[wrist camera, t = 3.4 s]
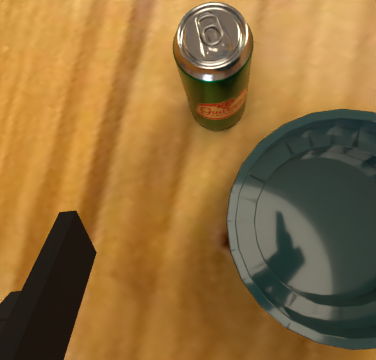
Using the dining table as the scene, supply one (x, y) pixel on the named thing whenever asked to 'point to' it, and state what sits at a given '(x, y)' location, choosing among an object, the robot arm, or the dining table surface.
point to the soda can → (214, 63)
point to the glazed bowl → (311, 226)
